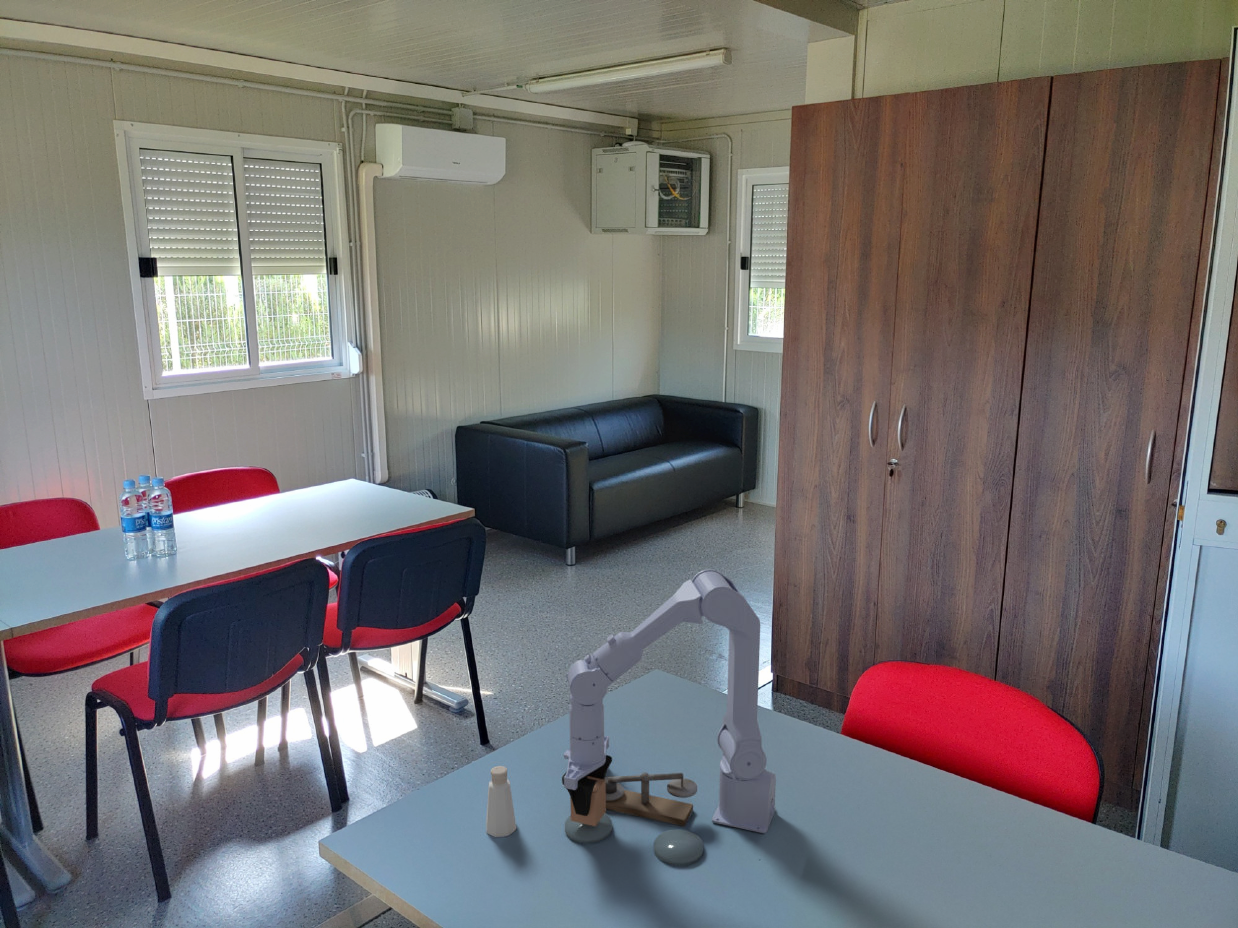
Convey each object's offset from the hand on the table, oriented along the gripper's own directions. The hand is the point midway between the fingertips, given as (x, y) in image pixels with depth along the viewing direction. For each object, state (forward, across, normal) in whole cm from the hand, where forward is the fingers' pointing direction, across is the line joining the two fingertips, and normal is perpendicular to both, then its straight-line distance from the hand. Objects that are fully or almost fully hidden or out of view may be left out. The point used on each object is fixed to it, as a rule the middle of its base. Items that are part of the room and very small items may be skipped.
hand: (588, 805), depth 156 cm
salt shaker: (+5, +5, -14) cm, 16 cm away
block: (+2, 0, 0) cm, 2 cm away
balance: (+4, -9, +7) cm, 12 cm away
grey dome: (+4, 0, 0) cm, 4 cm away
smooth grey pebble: (+4, 0, +16) cm, 17 cm away
